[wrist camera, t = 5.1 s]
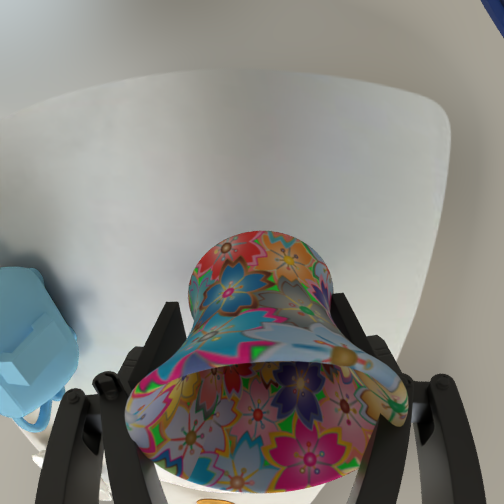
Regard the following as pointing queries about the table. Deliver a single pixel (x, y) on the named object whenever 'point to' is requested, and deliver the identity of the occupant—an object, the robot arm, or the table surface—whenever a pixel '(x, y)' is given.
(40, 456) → the bowl
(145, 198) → the table surface
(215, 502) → the cup
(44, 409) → the teapot
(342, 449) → the mug
